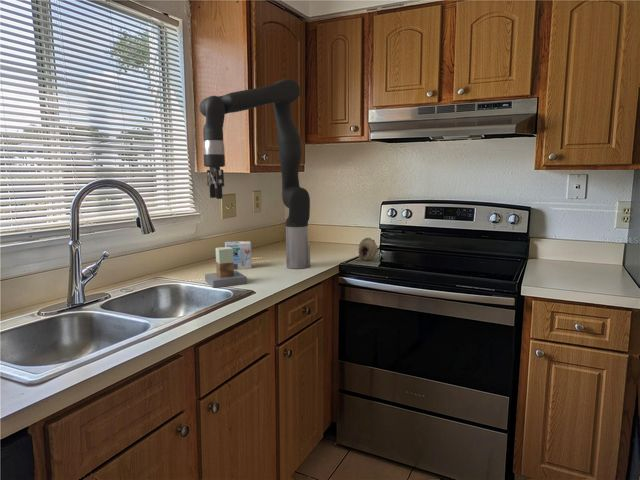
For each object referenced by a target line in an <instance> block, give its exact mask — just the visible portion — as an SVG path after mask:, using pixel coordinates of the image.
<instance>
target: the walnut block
mask: <svg viewBox="0 0 640 480" xmlns="http://www.w3.org/2000/svg"><path fill="white" fill-rule="evenodd" d="M215 268H216V271H215V273H217V276H219V277H220V278H221V277H230V276H234V271H235V269H234V262H233V263H223V264H219V263H218V262H216V261H215Z"/></svg>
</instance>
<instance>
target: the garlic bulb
mask: <svg viewBox="0 0 640 480" xmlns="http://www.w3.org/2000/svg"><path fill="white" fill-rule="evenodd" d="M377 253H378V245H377V243H376V242H375V239H372V237H365V238H363V239H362V240H361V241H360V243H359V245H358V256H357V257H358V258H359V259H360V260H361V259H362V260H364V261H368V260H369V261H370V260H373V259H374V258H375V257H376V255H377Z"/></svg>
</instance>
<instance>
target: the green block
mask: <svg viewBox="0 0 640 480" xmlns="http://www.w3.org/2000/svg"><path fill="white" fill-rule="evenodd" d="M216 262H218V263H219V264H223V263H233V248H231V247H225V246H224V247H223V246H220V247H215V263H216Z"/></svg>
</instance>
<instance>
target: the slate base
mask: <svg viewBox="0 0 640 480" xmlns="http://www.w3.org/2000/svg"><path fill="white" fill-rule="evenodd" d="M247 279H248V278H247V276H246V275H244V274H243V273H242V272H240V271H238V270H234V276H230V277H221V278H220V277H219V276H217V272H210V273H204V282H206V283H207V284H208V285H209V286H211V287H212V288H214V289H215V288H216V289H217V288H223V287H230V286H232V287H233V286H238V285H247V283H248V282H247Z"/></svg>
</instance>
